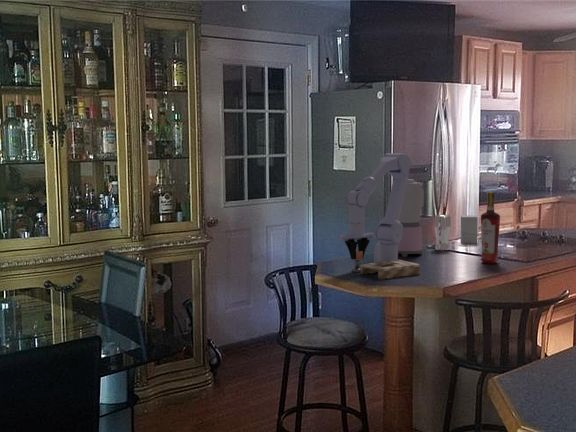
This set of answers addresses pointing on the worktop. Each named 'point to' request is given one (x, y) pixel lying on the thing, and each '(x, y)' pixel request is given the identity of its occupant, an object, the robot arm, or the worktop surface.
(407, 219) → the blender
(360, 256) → the keyhole peg
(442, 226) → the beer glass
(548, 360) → the worktop surface
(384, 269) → the keyhole plate
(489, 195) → the liquor
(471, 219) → the supplement box
